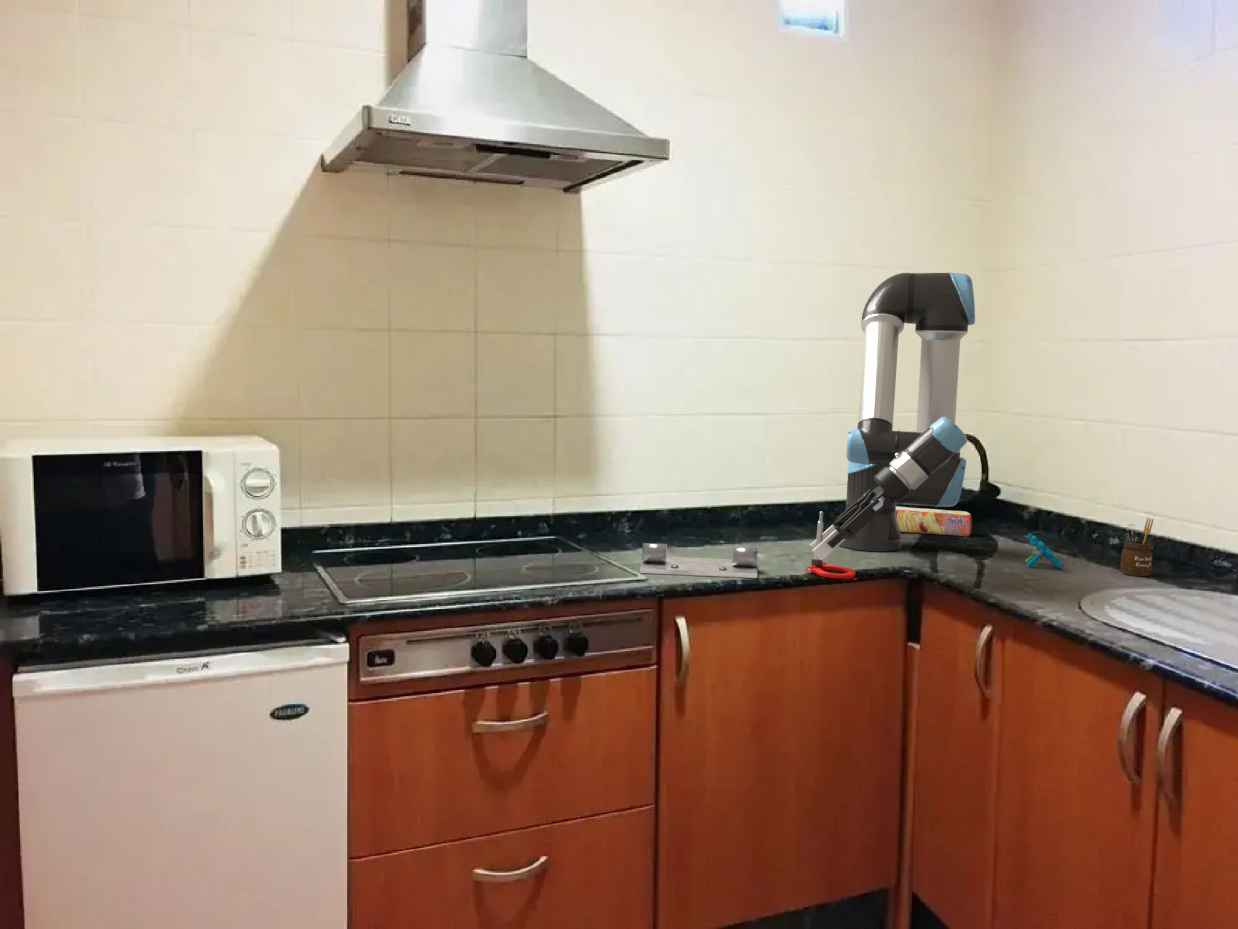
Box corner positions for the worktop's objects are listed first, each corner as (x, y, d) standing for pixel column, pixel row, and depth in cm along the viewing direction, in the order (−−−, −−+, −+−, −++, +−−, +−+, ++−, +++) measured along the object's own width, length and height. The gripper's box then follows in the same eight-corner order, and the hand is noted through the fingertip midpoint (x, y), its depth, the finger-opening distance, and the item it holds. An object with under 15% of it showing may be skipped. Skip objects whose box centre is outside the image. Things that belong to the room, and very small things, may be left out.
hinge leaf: (644, 560, 225) (645, 537, 225) (755, 564, 223) (756, 542, 222) (640, 573, 212) (640, 549, 212) (757, 578, 210) (758, 554, 209)
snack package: (968, 534, 267) (970, 508, 267) (971, 538, 261) (973, 512, 260) (884, 528, 272) (886, 503, 271) (885, 533, 266) (886, 507, 265)
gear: (1070, 566, 220) (1037, 531, 222) (1049, 584, 221) (1016, 550, 222) (1057, 563, 231) (1026, 530, 233) (1037, 580, 232) (1005, 547, 233)
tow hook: (861, 576, 216) (822, 567, 222) (867, 516, 214) (827, 508, 220) (843, 583, 210) (803, 573, 215) (848, 521, 208) (808, 513, 213)
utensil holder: (1113, 572, 224) (1118, 517, 222) (1134, 570, 226) (1139, 516, 225) (1136, 577, 218) (1141, 522, 217) (1157, 575, 221) (1162, 520, 219)
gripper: (880, 459, 221) (800, 531, 225) (894, 470, 203) (806, 548, 206) (904, 485, 221) (823, 556, 225) (920, 497, 203) (832, 575, 207)
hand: (815, 552), depth 216 cm, fingers open, 5 cm apart
